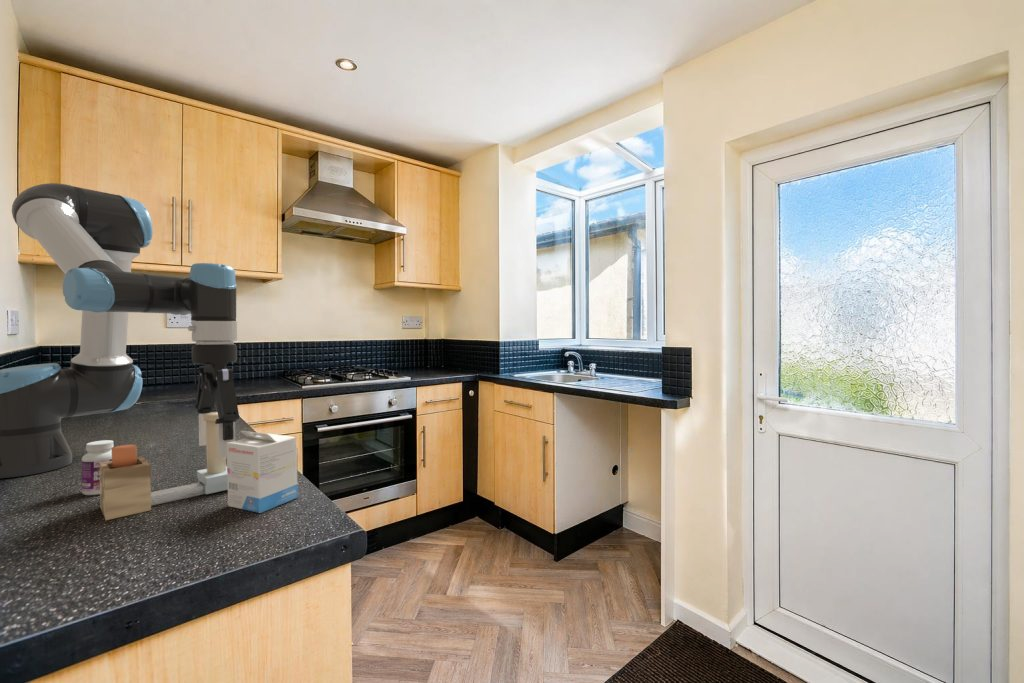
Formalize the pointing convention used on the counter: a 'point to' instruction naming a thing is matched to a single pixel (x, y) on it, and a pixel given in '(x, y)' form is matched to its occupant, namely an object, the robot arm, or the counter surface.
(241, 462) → the ink box
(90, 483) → the pill bottle
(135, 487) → the wooden box
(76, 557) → the counter surface
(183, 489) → the rail
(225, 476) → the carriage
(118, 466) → the orange rounded piece
